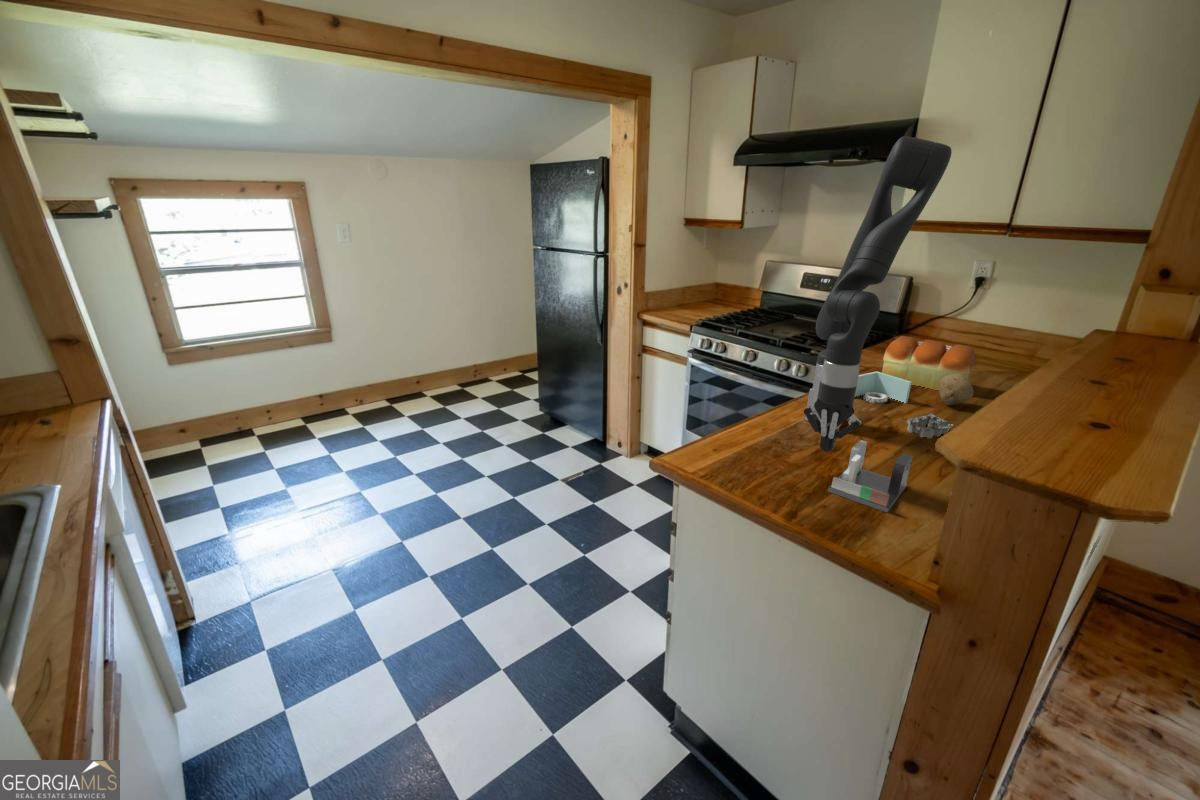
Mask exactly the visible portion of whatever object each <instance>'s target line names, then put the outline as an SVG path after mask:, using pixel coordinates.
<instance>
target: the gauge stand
mask: <svg viewBox="0 0 1200 800" xmlns="http://www.w3.org/2000/svg"><path fill="white" fill-rule="evenodd" d="M913 457H914V456H913V455H911V454H907V453H901V455H899V457H898V458H897V459H896V460H895V462H894V465H893V469H892V474H891V476H887V475H884V474H880V473H877V472H874V471H871V470H868V469H865V468H862V469H861V470H860V471H859V472H858V474H857V476H856V480H855V483H852V482H849V481H847V480H848V479H847V480H845V479H842V476H843V473H844V472H845V471H846V470H847V469H848V467H847V468H846V469H845V470H844V471H843V472H842V473H841V474H840V475H839V476H838V477H836V476H833V478H832V483H831V484H830V485H829V486H828V487H827V488H828V489H827V492H828V493H830V494H834V495H837V496H840V497H842V498H845V499H848V500H850V501H853V502H856V503H859V504H863V505H864V506H867V507H871V508H873V509H877V510H878V511H882V512H885V513H888V512H889V511H890V510H891V508H892V507H893V506H894V504H895V503H896V501H897V500H898V498H899V497H900V496H901V494H902V493H903V491H904V490H905V489H906V487H907V483H908V482H907V481H908V477H909V473H910V469H911V466H912V461H913Z"/></svg>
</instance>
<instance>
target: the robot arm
mask: <svg viewBox="0 0 1200 800" xmlns="http://www.w3.org/2000/svg"><path fill="white" fill-rule="evenodd" d="M951 158H952V148H951V146H949V145H947V144H945V143H940V142H935V141H931V140H926V139H924V138H923V139H922V138H919V137H918V138H917V137H912V136H901V137H900V138H899V139H897V141H896V142H895V143H894V144H893V146H892V148H891V151H890V152H889V154H888V156H887V158H886V161H885V164H884V166H883V169H882V172H881V174H880V177H879V180H878V182H877V185H876V188H875V191H874V193H873V196H872V199H871V202H870V204H869V206H868V209H867V211H866V213H865V215H864V218H863V220H862V222H861V225H860V227H859V228H858V231H857V233H856V235H855V237H854V240H853V241H852V244H851V246H850V247H849V250H848V253H847V254H846V258H845V260H844V263H843V265H842V268H841V269H840V272H839V274H838V277H837V279H836V281H835V283H834V286H833V287H832V289H831V290H830V292H828V293H829V294H828V295H827V297H826V300H825V301H824V303H823V305H822V307H821V308H820V311H819V313H818V315H817V318H816V322H815V334H816V336H817V337H818V338H819V339H820V340H822V341H827V344H826V348H825V349H823V350H821V351H819V353H818V354H817V358H816V359H817V360H816V365H815V372H814V378H813V383H812V387H811V388H810V389H809V391H808V397H807V398H808V399H807V404H806V408H805V409H803V414H804V415H805V416H804V417H805V419H804V421H807V422H809V425H810V426H811V428H812V429H813V431H814V432H816V433H819V434H820V443H819V448H820V449H821V451H822V452H825V453H830V452H831V451H833V450H834V449H835V444H836V440H837V439H839V440H840V439H842V438H844V437H845V436H847V435H848V434H849V433H851V432H852V431H854V430H855V429H857V428H858V427H859V426H860V425H862V424H863V422H864V421H863V419H862V418H858V417H857V416H856V415H855V409H854V402H855V392H856V387H857V382H858V376H859V375H860V366H861V365H860V364H861V358H862V354H863V353H862V352H863V347H864V345H865V342H866V341H867V338H868V337H869V333H870V332H871V329H872V328H873V326H874V324H875V322H876V320H877V318H878V315H879V314H880V310H881V309H880V308H881V303H880V299H879V297H878V296H877V294H875V293H874V292H870V291H866V289H867V288H868V287H869V286H874V285H880V284H881V283H882V282H884V280H885V278H886V277H887V275H888V273H889V271H890V269H891V266H892V265H893V263H894V260H895V259H896V256H897V254H898V252H899V250H900V248H901V246H902V244H903V243H904V240H905V239H906V238H907V236H908V234H909V233H910V231H911V229H912V228H913V227H914V225H915V223H916V222H917V221H918V219H919V217H920V215H921V214H922V212H923V210H924V209H925V207H926V206H927V204H928V202H929V200H930V199H931V197H932V196H933V193H935V190H936V189H937V187H938V185H939V183H940V182H941V180H942V178H943V176H944V175H945V174H944V173H946V170H947V168H948V166H949V163H950V160H951ZM894 186H895V187H900V188H903V189H908V190H912V191H914V194H913V195H912V197H911V198H910V200H908V202H907V203H906V204H905V205H904V206H903V207H901V208H900V209H899V210H898V211H897V212H895V213H894V214H893V212H892V211H893V210H892V193H893V188H894ZM848 419H849V420H848ZM846 421H848V422H847V423H848V426H846V427H845V428H843V429H841V430H840V427H841V426H842V425H843V423H845V422H846Z"/></svg>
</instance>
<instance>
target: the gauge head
mask: <svg viewBox="0 0 1200 800" xmlns="http://www.w3.org/2000/svg"><path fill="white" fill-rule="evenodd" d="M867 445H868V441H866V440H862V439H861V440H859V441H858V442H857V443H856V444H855V445H854V446H853V447H852V448H851V450H850V455H849V460H848V465H847V466H848V467H847V468H848V469H847V468H846V469H847V470H846V469H845V470H846V471H845V470H844V471H845V472H844V471H843V472H844V473H843V472H842V473H843V476H842V479H845V480H847V479H848V475H849V470H850V461H851V459H852V458H853V457H854V456H855V455H856V454H857V455H860V456H861V460H860V461H859V466H858V471H857V474H858V472H859V471H860V470H861V469H863V464H864V459H865V455H866V450H867Z"/></svg>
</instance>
